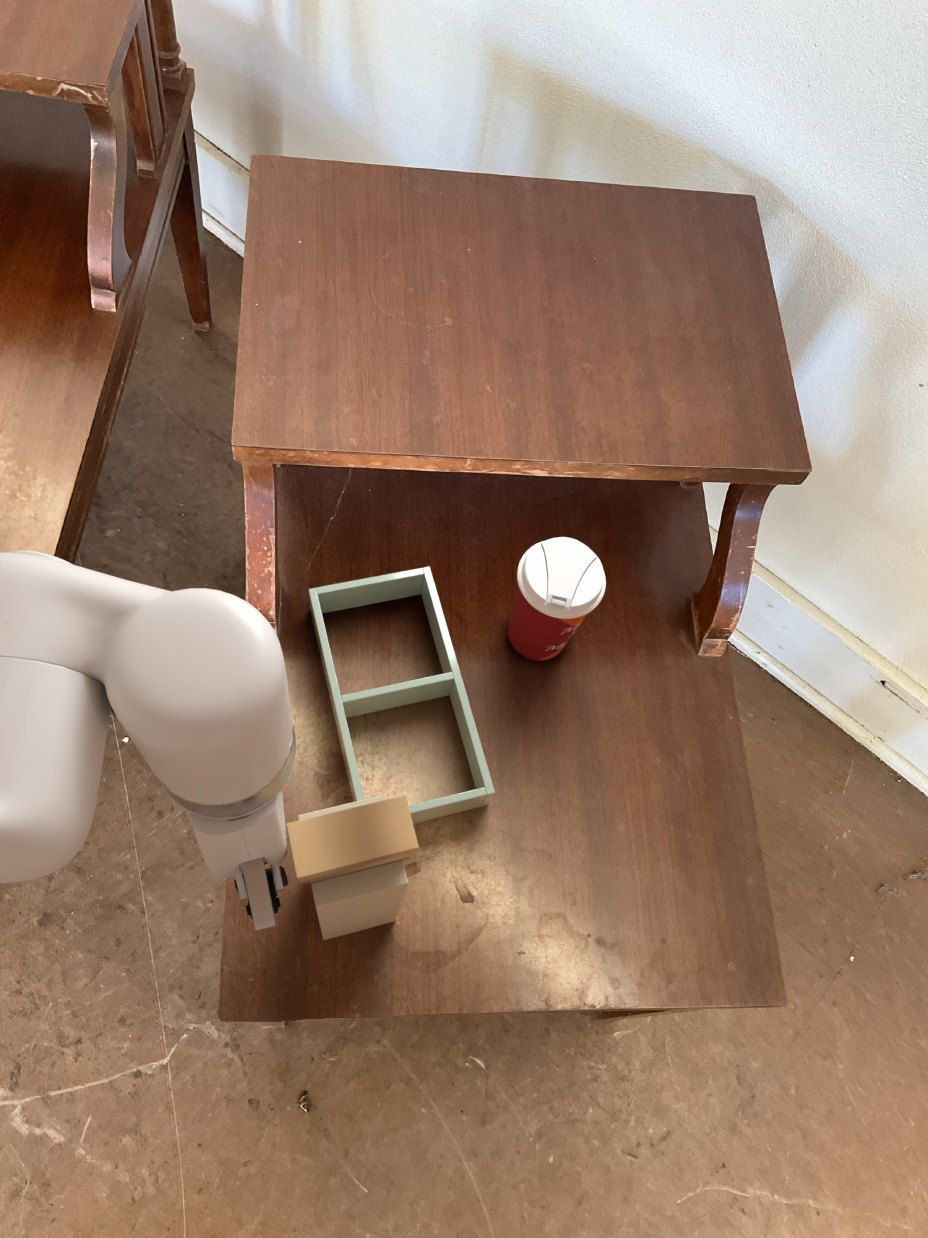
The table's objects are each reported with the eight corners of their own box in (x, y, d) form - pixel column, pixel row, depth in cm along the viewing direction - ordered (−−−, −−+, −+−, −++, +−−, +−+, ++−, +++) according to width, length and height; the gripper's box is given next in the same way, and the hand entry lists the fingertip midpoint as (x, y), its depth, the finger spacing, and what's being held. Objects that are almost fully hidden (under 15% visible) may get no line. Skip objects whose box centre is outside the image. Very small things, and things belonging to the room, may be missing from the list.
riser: (323, 942, 75) (315, 907, 57) (309, 870, 77) (297, 815, 59) (394, 923, 76) (408, 883, 58) (378, 853, 79) (386, 793, 61)
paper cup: (566, 683, 87) (602, 621, 75) (488, 664, 87) (511, 598, 75) (579, 613, 91) (615, 542, 78) (504, 594, 91) (529, 520, 78)
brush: (299, 890, 57) (296, 879, 54) (289, 837, 59) (285, 823, 55) (415, 860, 59) (419, 848, 55) (402, 810, 60) (405, 794, 57)
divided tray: (361, 840, 79) (361, 825, 74) (310, 615, 88) (308, 588, 83) (486, 808, 81) (495, 792, 76) (425, 593, 90) (429, 566, 85)
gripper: (131, 615, 51) (179, 716, 67) (175, 926, 45) (217, 959, 60) (265, 590, 53) (282, 694, 68) (326, 887, 46) (330, 928, 62)
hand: (251, 818), depth 64 cm, fingers open, 9 cm apart
